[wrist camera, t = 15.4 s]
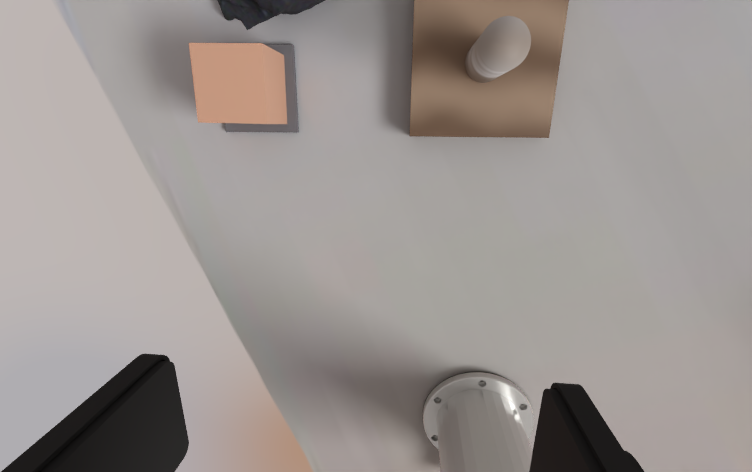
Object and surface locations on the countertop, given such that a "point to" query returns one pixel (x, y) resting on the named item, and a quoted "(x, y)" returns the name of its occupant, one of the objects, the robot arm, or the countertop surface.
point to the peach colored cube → (238, 83)
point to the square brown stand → (485, 67)
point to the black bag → (262, 9)
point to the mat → (290, 99)
